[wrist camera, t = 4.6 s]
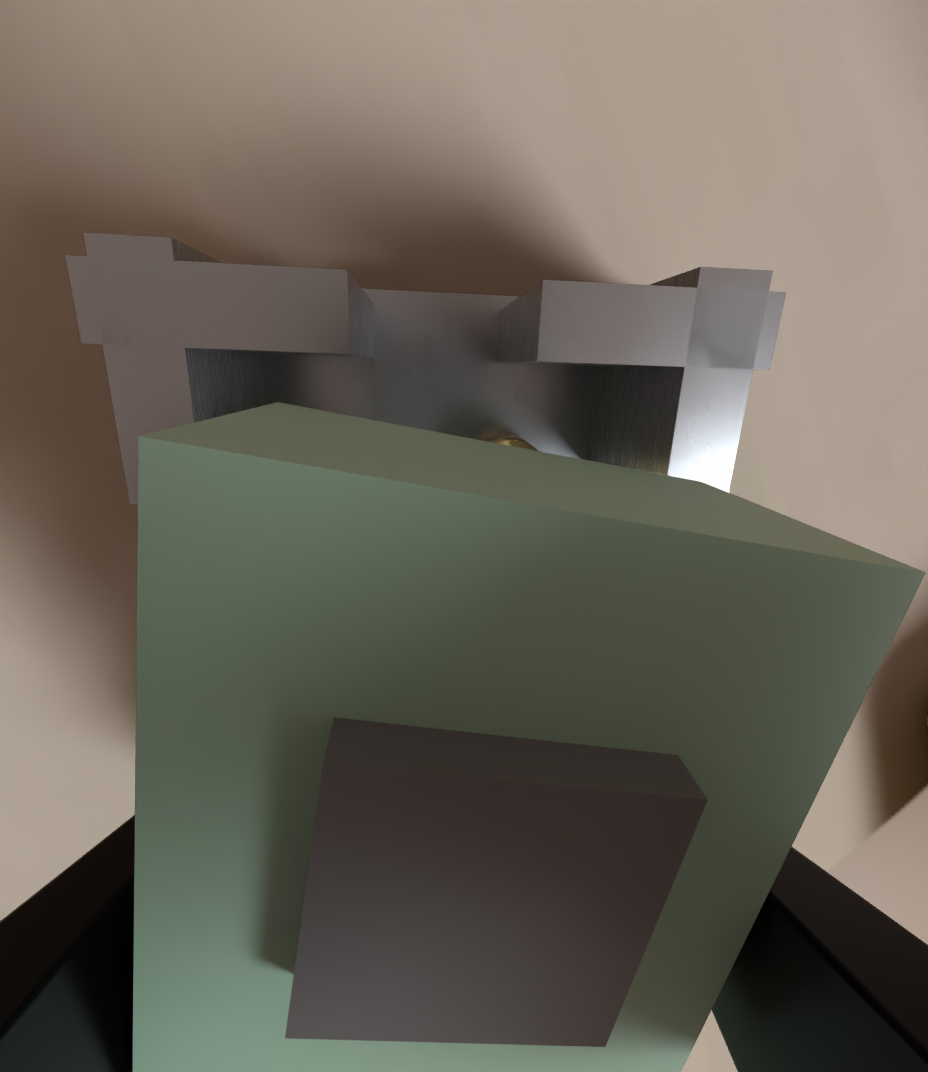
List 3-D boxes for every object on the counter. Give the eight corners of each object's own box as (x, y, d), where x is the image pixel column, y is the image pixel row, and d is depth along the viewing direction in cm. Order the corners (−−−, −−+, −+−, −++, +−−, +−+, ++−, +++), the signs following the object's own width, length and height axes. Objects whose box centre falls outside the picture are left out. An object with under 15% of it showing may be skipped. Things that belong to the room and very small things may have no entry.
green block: (540, 963, 10) (609, 1304, 7) (231, 947, 10) (107, 1326, 6) (702, 481, 8) (989, 599, 4) (278, 402, 7) (92, 447, 3)
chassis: (585, 772, 18) (651, 935, 13) (263, 781, 17) (194, 962, 12) (648, 307, 13) (790, 271, 8) (210, 286, 13) (61, 231, 7)
